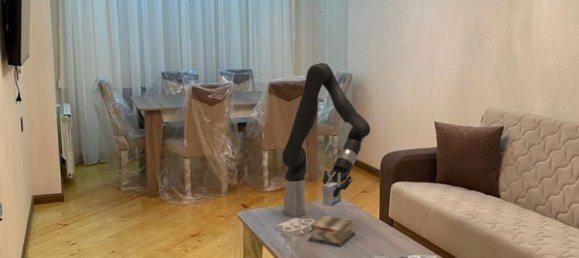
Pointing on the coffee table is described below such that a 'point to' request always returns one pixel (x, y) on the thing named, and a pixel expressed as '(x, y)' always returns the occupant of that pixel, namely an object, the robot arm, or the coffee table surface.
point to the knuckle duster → (295, 227)
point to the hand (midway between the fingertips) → (329, 195)
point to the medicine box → (330, 194)
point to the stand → (332, 231)
